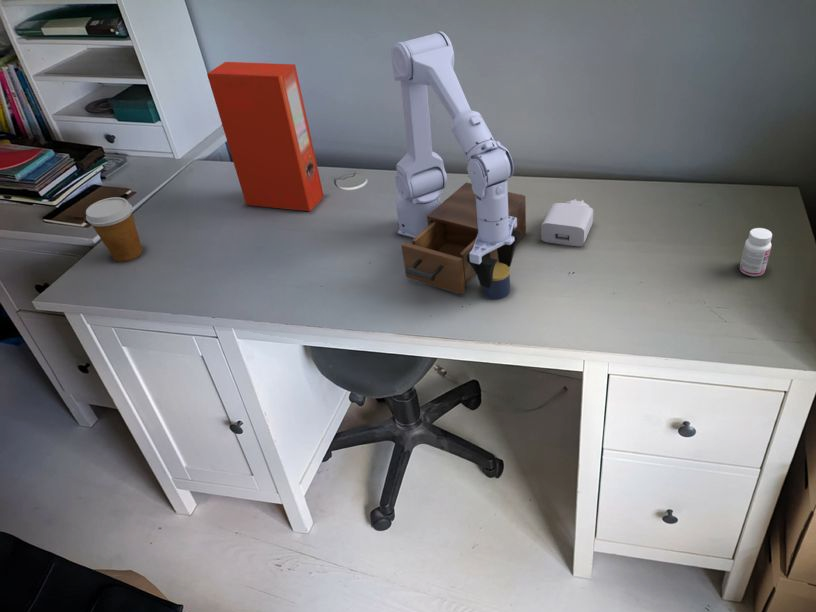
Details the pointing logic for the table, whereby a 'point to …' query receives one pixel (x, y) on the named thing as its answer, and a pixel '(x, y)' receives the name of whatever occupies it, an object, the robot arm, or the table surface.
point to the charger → (567, 223)
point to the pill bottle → (756, 252)
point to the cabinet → (475, 212)
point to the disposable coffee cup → (115, 227)
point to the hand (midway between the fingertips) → (495, 275)
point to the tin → (499, 282)
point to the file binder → (267, 134)
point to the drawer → (440, 257)
